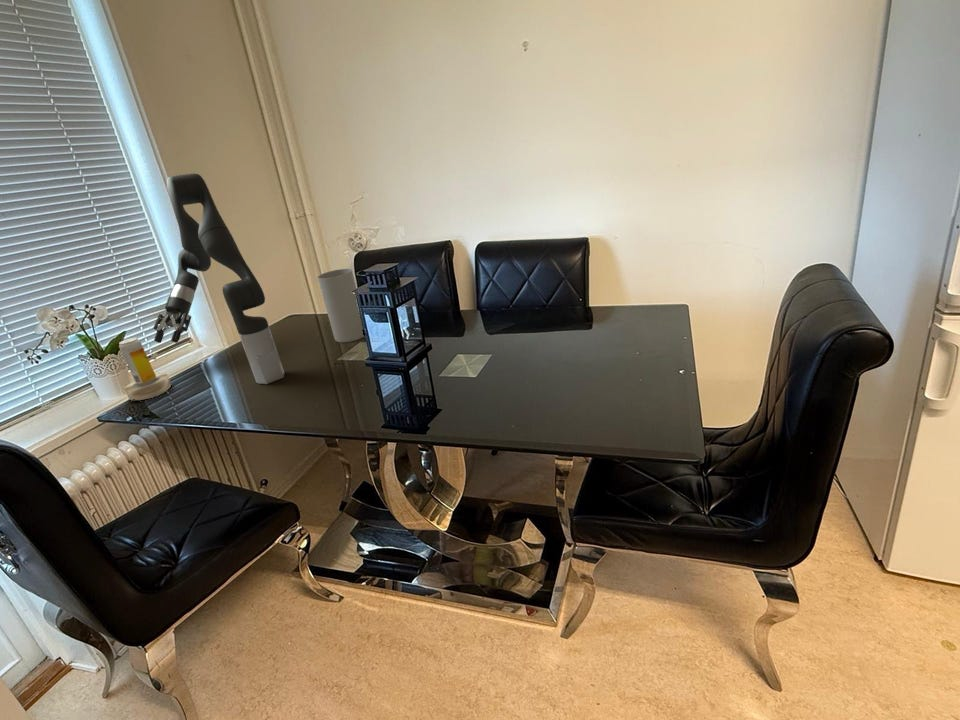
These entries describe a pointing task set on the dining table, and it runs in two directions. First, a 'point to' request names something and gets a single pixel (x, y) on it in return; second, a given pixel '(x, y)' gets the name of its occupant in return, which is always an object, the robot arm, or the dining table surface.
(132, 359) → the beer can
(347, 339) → the cylinder vase
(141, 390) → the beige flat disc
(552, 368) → the dining table surface
